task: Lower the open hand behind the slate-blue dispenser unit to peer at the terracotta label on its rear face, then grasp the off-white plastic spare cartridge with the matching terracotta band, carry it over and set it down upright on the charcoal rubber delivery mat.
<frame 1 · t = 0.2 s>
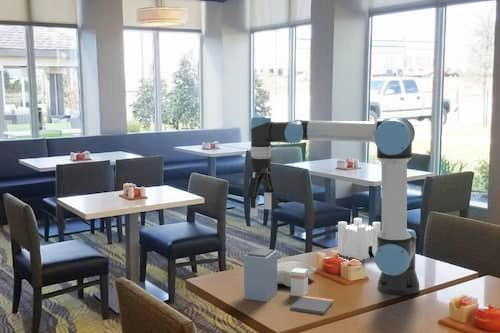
hand: (261, 212, 221), 28 cm above the table, fingers open, 13 cm apart
delivery mat: (312, 306, 202), on the table
rock: (286, 282, 228), on the table
castle model: (358, 254, 264), on the table
dispenser unit: (261, 295, 213), on the table
spare cartridge: (299, 293, 214), on the table
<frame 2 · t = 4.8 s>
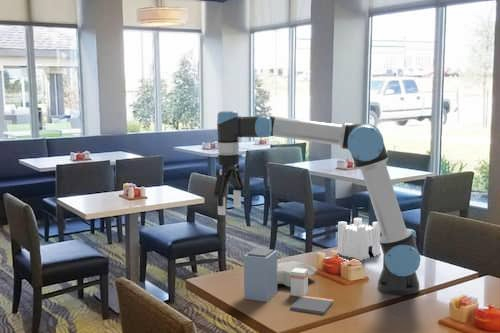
hand: (229, 211, 213), 31 cm above the table, fingers open, 13 cm apart
nothing on the table moved.
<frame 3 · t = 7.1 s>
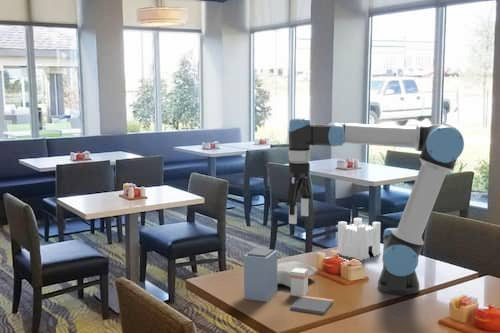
hand: (298, 219, 210), 28 cm above the table, fingers open, 13 cm apart
nothing on the table moved.
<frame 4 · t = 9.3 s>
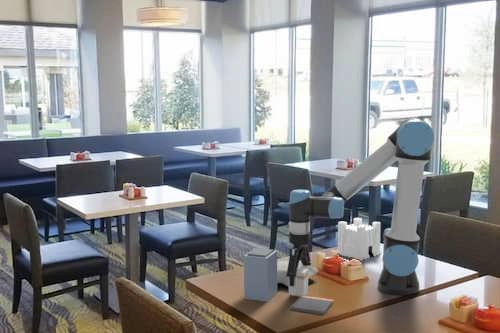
hand: (298, 288, 214), 2 cm above the table, fingers open, 13 cm apart
rock: (287, 282, 227), on the table, touching gripper
everything else where it was.
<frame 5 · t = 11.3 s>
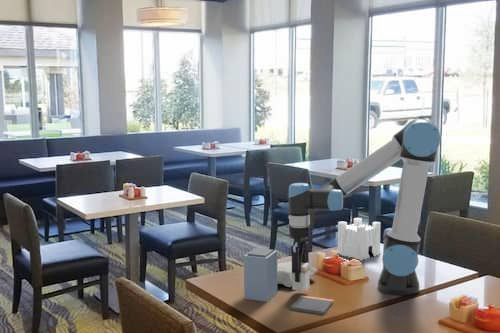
hand: (300, 287, 214), 3 cm above the table, fingers closed on spare cartridge, 5 cm apart
rock: (286, 283, 228), on the table
spare cartridge: (301, 288, 214), point 2 cm above the table, touching gripper
everything else where it was.
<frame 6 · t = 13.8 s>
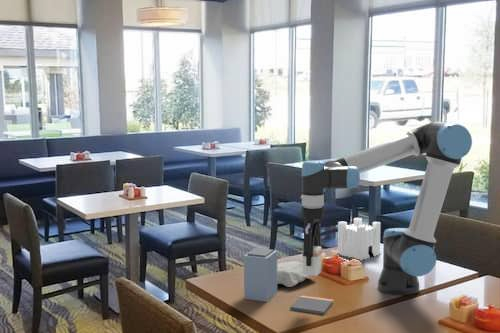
hand: (312, 272, 200), 12 cm above the table, fingers closed on spare cartridge, 5 cm apart
spare cartridge: (312, 272, 200), point 12 cm above the table, touching gripper
everything else where it was.
when the fingers open (1 cm above the table, at t = 16.3 s): spare cartridge stays where it is, resting on delivery mat.
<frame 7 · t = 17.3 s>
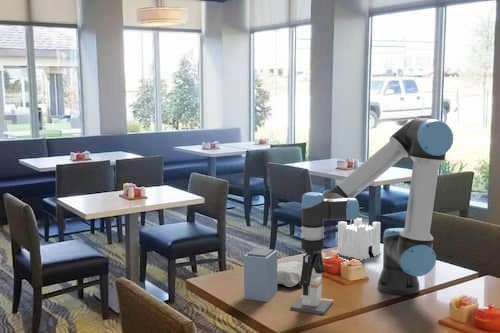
hand: (312, 297, 201), 3 cm above the table, fingers open, 13 cm apart
spare cartridge: (312, 303, 202), point 1 cm above the table, touching delivery mat
everything else where it was.
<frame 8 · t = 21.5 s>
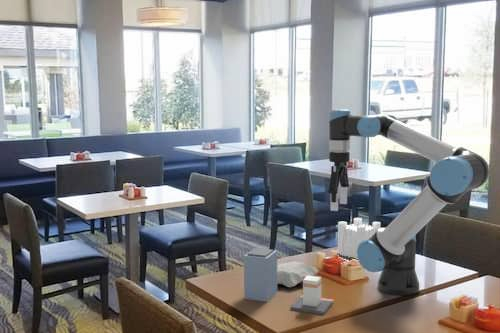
hand: (338, 207, 218), 31 cm above the table, fingers open, 13 cm apart
nothing on the table moved.
at the end: spare cartridge inside the target area on the delivery mat (0.8 cm from its centre), point 1.0 cm above the delivery mat's base; spare cartridge tilted 0°; the gripper is holding nothing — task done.
